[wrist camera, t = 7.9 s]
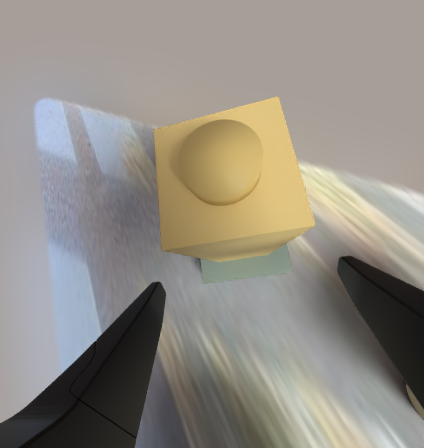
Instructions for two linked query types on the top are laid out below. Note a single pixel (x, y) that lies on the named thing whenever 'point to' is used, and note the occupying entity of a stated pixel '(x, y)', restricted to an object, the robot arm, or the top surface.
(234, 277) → the plinth brick
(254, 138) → the tower brick
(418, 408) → the flower pot
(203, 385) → the top surface
